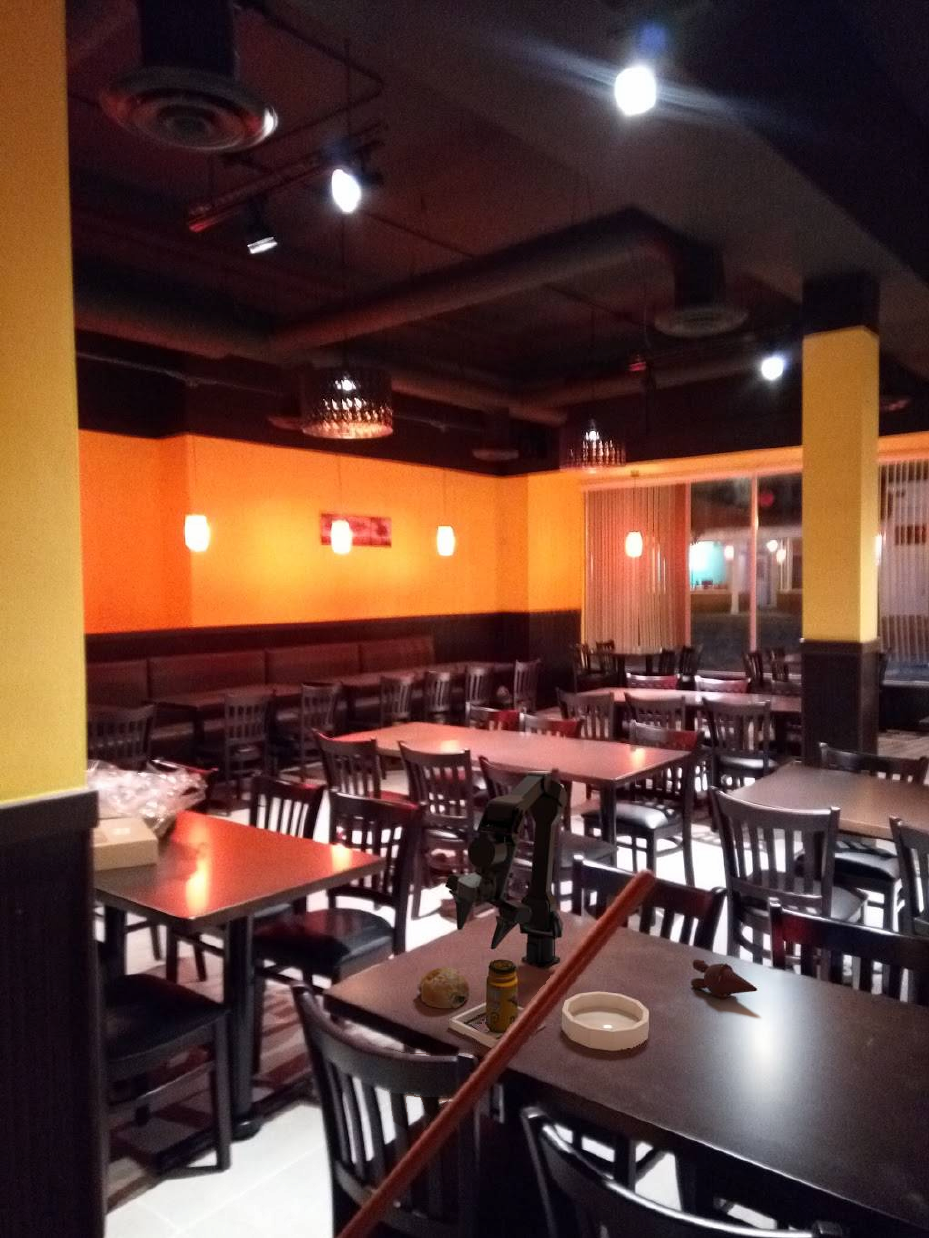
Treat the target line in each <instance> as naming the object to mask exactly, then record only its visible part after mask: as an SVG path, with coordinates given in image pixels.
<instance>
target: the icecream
mask: <svg viewBox="0 0 929 1238" xmlns="http://www.w3.org/2000/svg"><path fill="white" fill-rule="evenodd" d="M692 967H693V969H694V970H696V971H698V972H699V973H701V974H703V977H695V978H692V980H691V981H690V984H691V986H692V987H693V988H695V989H697V990H698V989H702V990H703V989H706V988H707V989H708V991H709V992H710V993H711V995H714V996H715V997H719V998H721V999H723V1000H726V999H727V998H729V997H730V996H732V995H734V994H742V993H752V992H757V991H758V988H757V987H756V986H754V985H753V984H752V983H750V982H749V981H748V980H746V979H744V978H743V977H742V976H740V975H739V974H737V973H736V972H735V971H734V969H733V968H732V966H731V965H730V964H729V963H715V964H711V965H710V966H709V965H708V963H706V961H704V960H703V959H694V960H693V961H692Z"/></svg>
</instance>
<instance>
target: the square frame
mask: <svg viewBox="0 0 929 1238" xmlns="http://www.w3.org/2000/svg"><path fill="white" fill-rule="evenodd" d="M523 1009H525V1008H523V1007H521V1006H518V1009H517V1011H518V1012H517V1015H518V1014H519V1013H520V1012H521V1011H522V1010H523ZM485 1012H486V1002H483V1003H481V1004H479V1005H477V1006H475V1007H473V1008H471V1009H468V1010H466V1011H464V1012H462V1013H460V1014H458V1015H455V1016H453V1017H452V1018H449V1019H448V1028H449V1029H452V1030H454V1031H456V1032H457V1033H460V1034H462V1035H464V1034H466V1035H468V1036H471V1037H472V1038H474V1039H476V1040H477V1041H476V1040H475V1041H476V1042H478V1041H479V1042H478V1043H480V1044H482V1045H484V1046H487V1047H488V1048H491V1049H492V1047H493V1046H494V1045H495V1044H497V1042H498V1040H499V1039H500V1038H499V1039H498V1038H493V1037H491V1036H489V1035H486V1034H484V1033H482V1032H480V1031H478V1030H476V1029H475V1028H473V1027H472V1026H471V1025H467V1024H466V1023H467V1022H469V1021H471V1020H472V1018H473V1019H475V1018H477V1017H478V1016H477V1015H480V1014H482V1015H484V1014H486V1013H485ZM483 1013H484V1014H483ZM476 1016H477V1017H476ZM480 1016H481V1015H480ZM474 1017H475V1018H474ZM470 1019H471V1020H470ZM468 1020H469V1021H468ZM464 1022H465V1023H464ZM546 1022H547V1020H546V1021H545V1022H544V1024H542V1025H541V1027H540V1028H539V1029H538V1030H537V1031H539V1030H541V1029H542V1028H544V1027H546V1025H547V1023H546ZM466 1035H465V1036H466ZM468 1036H467V1037H468ZM472 1038H471V1039H472ZM474 1039H473V1040H474Z"/></svg>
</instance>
